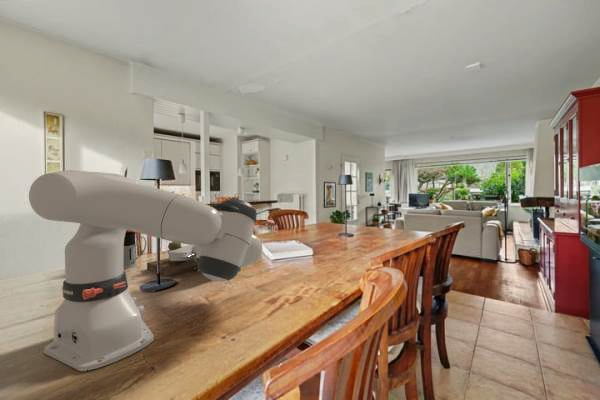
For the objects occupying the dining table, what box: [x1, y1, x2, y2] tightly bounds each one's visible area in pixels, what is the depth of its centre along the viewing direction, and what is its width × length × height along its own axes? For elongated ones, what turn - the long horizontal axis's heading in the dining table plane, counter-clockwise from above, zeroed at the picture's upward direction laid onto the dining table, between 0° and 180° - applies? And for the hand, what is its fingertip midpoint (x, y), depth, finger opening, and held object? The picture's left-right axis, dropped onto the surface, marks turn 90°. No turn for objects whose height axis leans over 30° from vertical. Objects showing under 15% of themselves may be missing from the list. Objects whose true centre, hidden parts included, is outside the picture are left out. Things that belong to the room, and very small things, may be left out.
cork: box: [168, 241, 182, 265], centre depth 118 cm, size 6×6×11 cm
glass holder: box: [124, 231, 147, 270], centre depth 120 cm, size 9×14×15 cm, turn 84°
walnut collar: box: [146, 257, 198, 277], centre depth 118 cm, size 16×16×3 cm
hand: (173, 250), depth 118 cm, fingers closed on cork, 5 cm apart
